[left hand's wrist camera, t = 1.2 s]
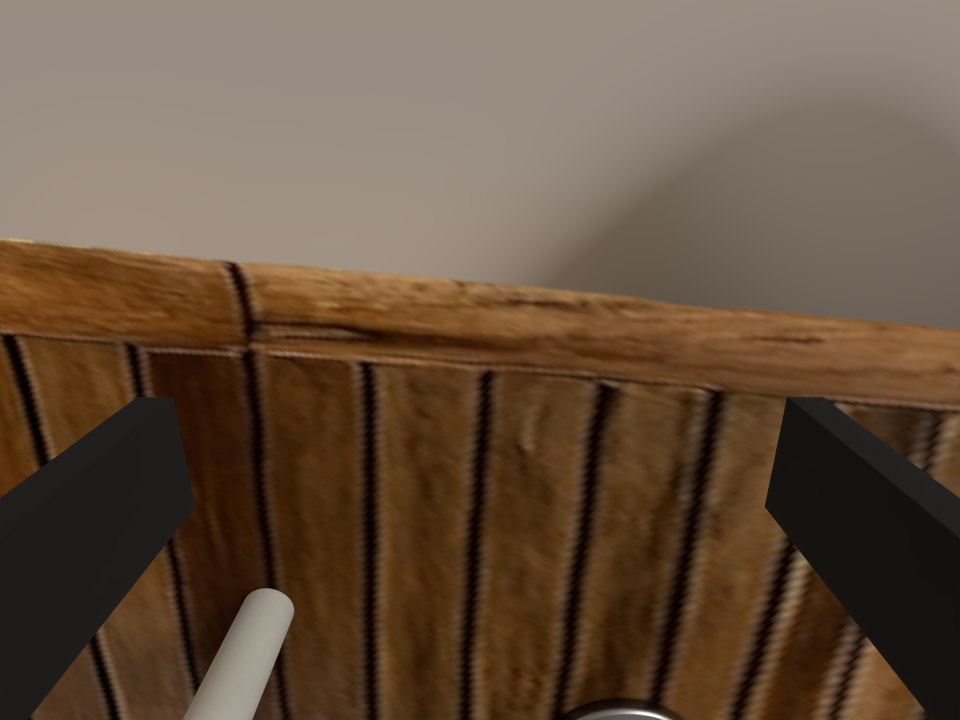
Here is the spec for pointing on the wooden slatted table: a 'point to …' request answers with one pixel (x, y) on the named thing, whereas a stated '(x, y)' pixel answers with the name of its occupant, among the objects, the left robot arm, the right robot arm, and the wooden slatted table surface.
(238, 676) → the white cylindrical bottle
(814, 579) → the wooden slatted table surface
